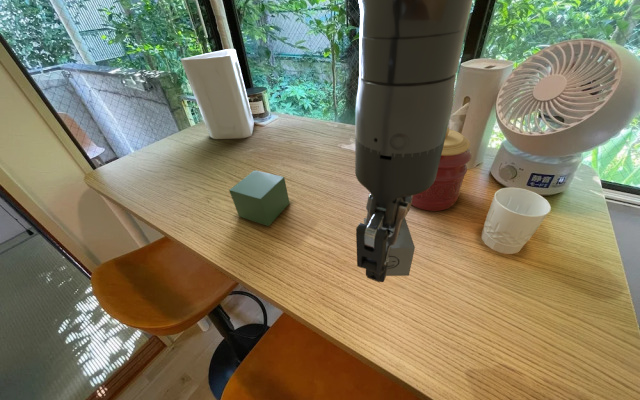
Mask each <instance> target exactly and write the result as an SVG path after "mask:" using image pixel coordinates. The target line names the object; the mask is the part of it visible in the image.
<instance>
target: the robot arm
mask: <svg viewBox="0 0 640 400" xmlns="http://www.w3.org/2000/svg"><path fill="white" fill-rule="evenodd" d="M358 4H359V5H358V6H359V14H360V15H359V16H360V17H359V40H358V41H359V43H358V44H359V45H358V47H359V48H358V49H359V50H358V51H359V52H358V74H359V76H358V86H357V91H356V92H357V94H356V98H355V99H356V100H355V118H354V119H355V123H354V124H355V128H354V129H355V132H354V133H355V135H354V136H355V137H354V139H355V141H354V142H355V146H354V147H355V149H354V150H355V151H354V153H355V154H354V156H355V157H354V160H355V161H354V173H355V174H354V175H355V178H356V179H357V181H358V182H359V184H360V185H361V186H363V187H364V188H365V189H366V190H367V191H368V192H369V195H368V197H367V201H366V205H365V206H366V207H365V209H366V211H367V212H366V213H367V214H366V217H365V218H366V222H365V224H364V222H363V223H362V222H359V224H358V225H357V226H356V228H355V233H356V234H355V237H356V239H355V242H356V243H355V245H356V266H357V267H358V268H361V269H364V270H365V276H366V278H367V279H369V280H371V281H373V282H377V283H384V282H385V280H386V277H387V276H386V272H387V264H388V262H389V259H390V258H389V254H390V250H391V246H393V245H395V244H396V242H397V241H398V238H399V234H400V230H401V225H402V221H403V219H404V218H405V219H406V217H407V216H408V213H409V212H410V210H411V206H412V205H411V203H412V199H413V196H414V195H416V194H419V193H421V192H423V191H425V190H427V189H428V188H430V187H431V186H432V184H433V183H434V181H435V179H436V175H437V171H438V167H439V162H440V158H441V154H442V150H443V145H444V141H445V137H446V133H447V128H448V127H449V123H450V120H451V115H452V110H453V106H454V105H453V104H454V96H455V94H454V93H455V84H456V77H457V72H458V69H459V64H460V59H461V55H462V51H463V46H464V42H465V38H466V33H467V28H468V24H469V19H470V16H471V11H472V4H473V0H358ZM382 227H383V228H386V229H392V228H394V230H393V234H387V230H384V229H382Z"/></svg>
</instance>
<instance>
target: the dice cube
mask: <svg viewBox="0 0 640 400" xmlns="http://www.w3.org/2000/svg"><path fill="white" fill-rule="evenodd" d="M365 222H366V217H364V218H363V224H365ZM382 229H384V230H387V234H393V230H394V228H392V229H386V228H383V227H382ZM415 250H416V246H415V243H414V240H413V237H412V234H411V232H410V228H409V224H408V221H407V219H406V217H405V218H404V219H403V221H402V225H401V230H400V234H399V238H398V241H397V242H396V244H395V245H393V246H391V250H390V254H389V258H390V259H389V262H388V264H387V272H386V277H407V276H410V272H411V268H412V264H413V259H414V254H415Z"/></svg>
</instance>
